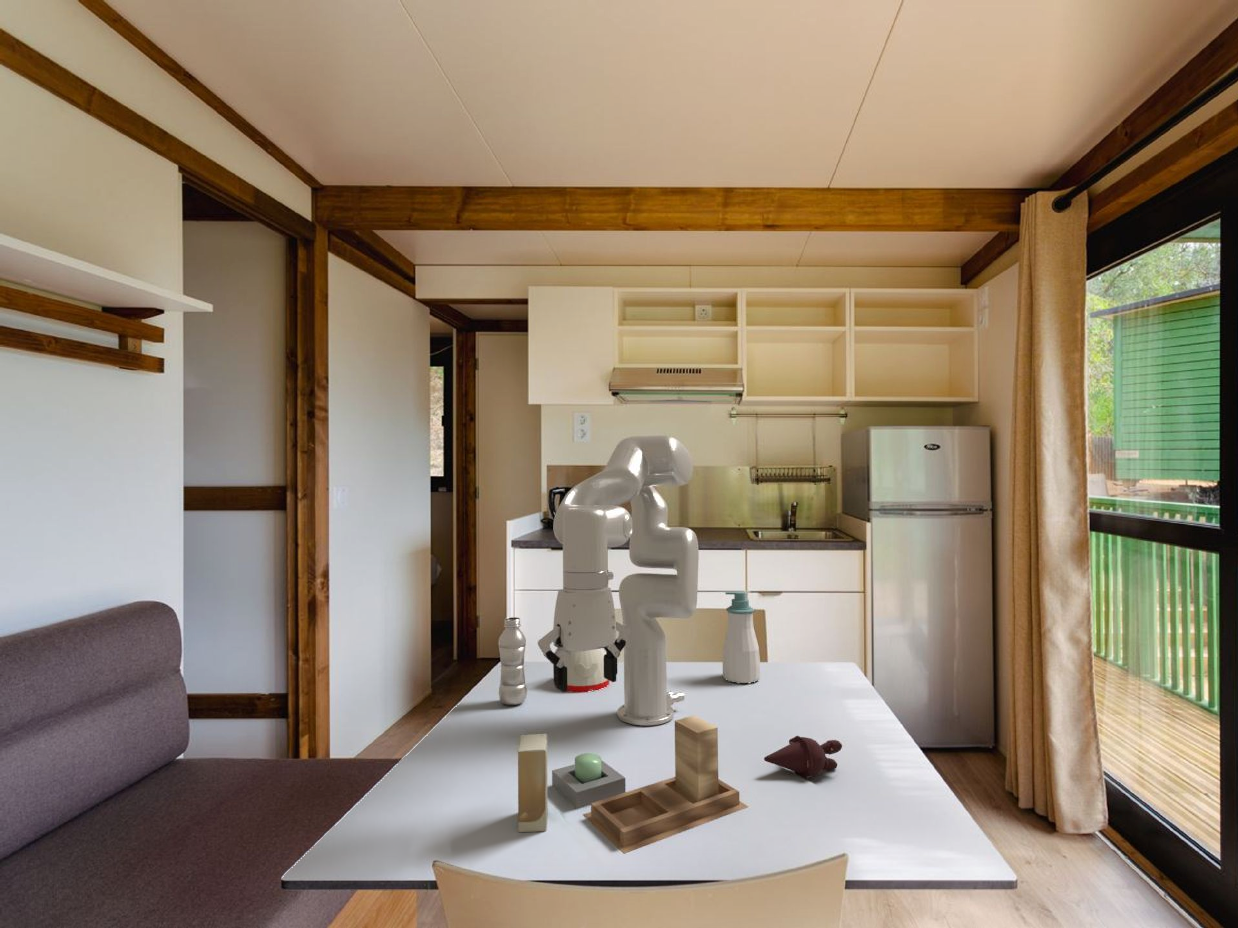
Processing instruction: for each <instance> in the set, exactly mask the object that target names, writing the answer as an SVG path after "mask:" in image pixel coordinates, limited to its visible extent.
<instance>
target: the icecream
mask: <svg viewBox="0 0 1238 928" xmlns="http://www.w3.org/2000/svg"><path fill="white" fill-rule="evenodd" d="M788 743H789V744H787V745H786V746H784V747H782V748H780V749H778V750H776V751H774V752H772V753H770V754H767V756H764V758H763V760H764V761H765V762H768V763H770V764H773V765H776V766H778V767H781V768H783V769H786V770H790V771H792V772H794V775H795V776H796V775H797V776H798V777H799V778H802V779H804V780H807V779H808V778H812V777H817V776H819V775H820V774H821V773H822V771H823V770H824V771H827V772H828V771H834V770H835V769H837V767H838V763H837V761H836V760H835V759H833V758H831V757H827V756H826V755H829V756H830V755H833V754H836V753H838V752H840V751H841V750H842V748H843V744H842V743H841V742H840V741H839V740H838V739H830V740H826V742H824V743H822V744H819V743H818V742H817V740H815V739H813V738H812V737H811V738H810V737H805V736H799V735H796V736H794V737H792V738H790V739H789V740H788Z"/></svg>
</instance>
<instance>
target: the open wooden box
mask: <svg viewBox="0 0 1238 928" xmlns="http://www.w3.org/2000/svg"><path fill="white" fill-rule="evenodd" d="M718 783H719V795H716V796H714V797H711V798H708V799H705V800H702V801H699V802H696V803H694V804H692V803H691V802H690V801H688V800H687V799H685V798H684V797H682V796H681V795H679V794H678V793H677V792H676V783H675V776H673V777H670V778H667V779H664V780H660V781H657V782H654V783H651V784H647V785H645V786H642V787H639V788H635V789H632V790H628V791H626V792H625V793H622V794H619V795H616V796H613V797H610V798H606V799H603V800H600V801H597V802H594V803H591V805H590V812H589V811H588V812H586V813H582V816H583V817H584V818H585V819H587V820H588V821H589V822H590V823H591V824H592V825H593V826H594V827H595V828H596V829H597V830H598V831H599V832H600V833H601V834H602V835H604V836H605V837H606V839H608V840H609V841H610V842H611V843H612V844H613V845H614V846H615V847H616V848H617V849H619V850H620V851H621V852H622V853H623V854H627V853H629V852H633V851H635V850H638V849H641V848H643V847H645V846H648V845H651V844H654V843H656V842H660V841H662V840H664V839H667V838H670V837H672V836H675V835H678V834H681V833H683V832H686V831H688V830H691V829H694V828H696V827H699V826H702V825H704V824H706V823H707V824H708V823H709V822H712V821H715V820H718V819H720V818H723V817H725V816H728V815H731V814H733V813H736V812H739V811H742V810H744V809H747V808H749V806H748V805H746V804H745V803H744V802H743V801H741V800H740V791H739V790H737V789H736V788H734V787H733V786H731V785H729V784H728V783H726V782H724V781H722V780H721V779H720V778H718Z"/></svg>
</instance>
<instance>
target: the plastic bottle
mask: <svg viewBox="0 0 1238 928" xmlns="http://www.w3.org/2000/svg"><path fill="white" fill-rule="evenodd" d="M503 621H504V625H503V627H504V628H505V629H504V630H502V631H503V632H502V633H501V634H500V636H499V638H498V650H499V656H500V684H499V688H498V697H499V701H500V702H501V703H502V704H504V705H508V706H509V705H510V706H515V705H520V704H522V703H524V702H525V700H526V699H527V695H528V689H527V683H526V677H525V653H526V645H527V640H526V639H527V638H526V636H525V635H524V633H523V631H522V630H521V629H520V628H521V626H522V625H521V617H518V616H517V617H513V616H512V617H505V618H504V620H503Z"/></svg>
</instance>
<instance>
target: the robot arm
mask: <svg viewBox="0 0 1238 928" xmlns="http://www.w3.org/2000/svg"><path fill="white" fill-rule="evenodd" d="M693 473H694V464H693V459H692V456H691V454H690V452H689V451H688V449H687V448H686V447H685V446H684V444H682V442H681V441H679V440H678V439H677V438H676V437H673V436H670V435H641V436H639V435H638V436H629V437H626V438H623V439H622V440H620V441H619V442H618V444H617V445H616V447H615V448H614V450H613V452H612V453H611V456H610V457H609V459H608V461H607V463H606V465H605V467H604V468H603V470H602V471H600V472H598V473H596V474H594V475H592V476H591V477H588V478H587V479H584V480H582V481H581V482H579V483H578V484H576V485H574V486H573V487H572V488H571V489H570V490H569V491H567V493H566V494H565V496H563V499H562V501H561V502H560V504H559V506H558V507H557V509H556V512H555V515H554V518H553V525H552V527H553V533H554V537H555V538H556V540H557V541H558V542H559V543H560V544H562V589H559V590H558V591H557V596H556V600H555V606H554V615H553V626H552V627H553V628H552V629H551V630H550V631H548V633H546V634H544V636H542V637H541V638H540V639H538V641H537V645H538V648H539V649H540V650H541V652H542V654H543V656H544V658H546V660H548V661H549V662H550V663H551V664H552V665H553V684H554V686H555V688H556V689H557V690H559V691H560V692H562V693H565V692H568V691H567V667H565V666H564V664H565V662H566V661H567V659H568V657H569V656H570V654H571V653H576V652H582V651H589V650H595V649H600V650H601V649H603V650H604V652H605V654H603V656H604V678H606V679H607V680H609V682H612V683H615V682H617V675H618V658H619V657H620V656H621V652H622V651H623V674H624V675H623V683H624V685H623V688H624V689H623V690H624V692H623V693H624V695H623V696H624V698H623V699H624V701H623V702H624V704H622V705H621V706H619V708H618V709H617V718H618V719H619V720H620V721H622V722H624V723H626V724H629V725H635V726H643V727H644V726H647V727H648V726H649V727H650V726H658V725H662V724H663V725H664V724H666V723H669V722H670V721H671V720H672V719H674V717H675V712H674V711H675V710H674V708H673V707H672V705H674V704H675V703H680V702H684V700H685V694H684V693H683V692H681V691H680V692H676V693H673V692H672V691H668V688H667V681H668V680H667V639H666V638H667V637H666V634H665V631H664V629H663V627H662V625H661V624H660V623H659V621H658V620H657V618H664V619H689V618H691V617H692V616H693V615H695V612H696V610H697V602H698V589H699V588H698V586H699V585H698V583H699V560H700V559H699V558H700V557H699V550H700V549H699V542H698V537H697V534H696V533H695V531H693V530H692V529H691V528H689V527H685V526H668V514H669V508H668V505H667V503H666V501H665V499H664V498H663V497H662V496H661V493H659V492H658V491H657V490H656V489H655V487H679V486H680V487H681V486H685V485H687V484H688V483H689V482H690V481H691V479H692V477H693ZM629 502H630V507H631V514H630V512H629V511H628V510H627V509H626V508H625V507H623V506H622V505H624V504H627V503H629ZM628 541H629V548H628V553H629V559H630V562H631V563H632V565H634V566H636V567H638V568H645V569H664V570H665V569H666V570H667V569H669V570H675V571H676V574H672V573H671V574H669V573H667V574H666V573H648V572H646V573H645V572H644V573H643V572H639V573H631V574H629V575H627V576H625V577H624V578H623V579H622V580H621V582H620V584H619V587H618V596H619V597H618V598H619V605H620V610H621V617H622V624H621V623H620V622H618V621H617V619H616V610H615V603H614V598H613V593H612V590H611V587H610V586H609V581H611V580H613V579H614V577H615V575H614V572H613V571H609V569H608V548H617V547H621V546H623V545H624V544H626V543H627V542H628ZM617 632H618V636H617ZM552 643H553V646H554V647H555V648H556V649H555V651H553V650H552V647H551V644H552Z"/></svg>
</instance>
